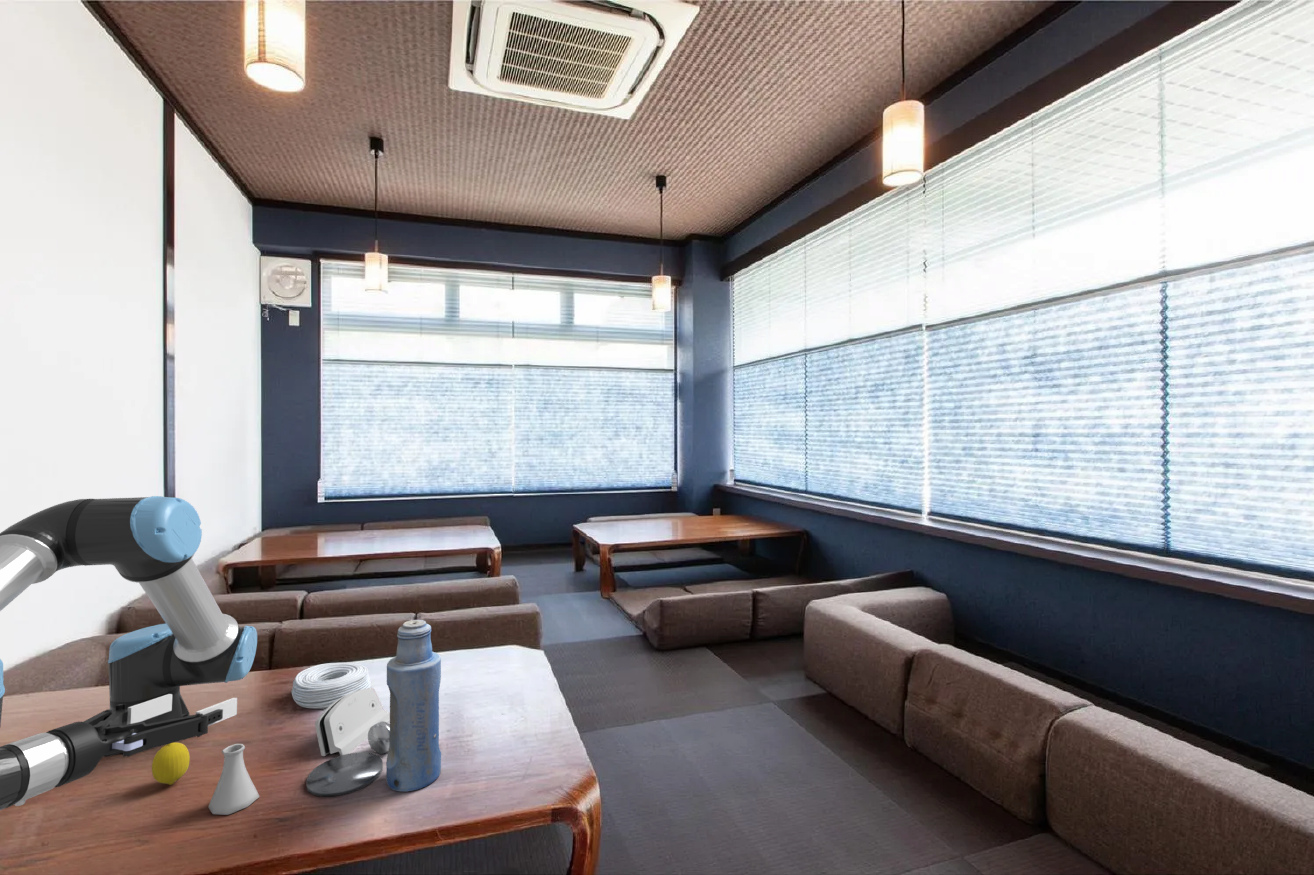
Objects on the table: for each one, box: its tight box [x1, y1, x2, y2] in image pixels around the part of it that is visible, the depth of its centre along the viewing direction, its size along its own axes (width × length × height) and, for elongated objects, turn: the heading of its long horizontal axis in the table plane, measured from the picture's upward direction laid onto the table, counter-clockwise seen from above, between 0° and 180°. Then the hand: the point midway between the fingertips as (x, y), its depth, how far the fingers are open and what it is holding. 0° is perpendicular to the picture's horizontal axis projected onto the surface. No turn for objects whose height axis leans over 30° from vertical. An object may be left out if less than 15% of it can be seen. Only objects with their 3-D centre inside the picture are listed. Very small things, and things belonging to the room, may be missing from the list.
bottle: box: [385, 619, 442, 792], centre depth 113 cm, size 10×10×30 cm
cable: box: [290, 662, 372, 710], centre depth 149 cm, size 18×18×6 cm
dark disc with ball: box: [306, 721, 390, 798], centre depth 120 cm, size 13×26×6 cm, turn 160°
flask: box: [207, 743, 260, 816], centre depth 106 cm, size 7×7×10 cm
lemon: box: [151, 742, 191, 786], centre depth 111 cm, size 6×6×8 cm
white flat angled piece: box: [314, 687, 390, 757], centre depth 129 cm, size 17×5×10 cm, turn 170°
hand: (202, 703), depth 100 cm, fingers open, 13 cm apart
